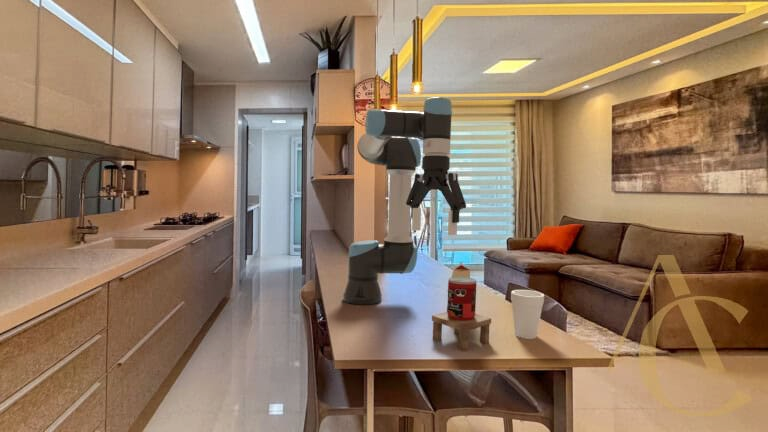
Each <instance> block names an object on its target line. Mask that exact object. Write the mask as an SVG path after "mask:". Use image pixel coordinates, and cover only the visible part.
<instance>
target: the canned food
mask: <svg viewBox="0 0 768 432" xmlns="http://www.w3.org/2000/svg"><path fill="white" fill-rule="evenodd" d="M447 282H448V283H447V303H448V309H447V308H446V312H447V314H448V317H450V318H451V319H455V320H464V321H465V320H472V319H474V317H475V314H476V307H477V306H476V302H477V279H475V278H473V277H470V278H469V277H452V276H451V277H449V278H448V281H447Z"/></svg>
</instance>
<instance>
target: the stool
mask: <svg viewBox="0 0 768 432" xmlns="http://www.w3.org/2000/svg"><path fill="white" fill-rule="evenodd" d="M431 321H432V340H434V341H436V342H439V341H442V339H443V337H442V336H443V335H442V334H443V325H444V326H446V327H449V328H453V333H454V334H456V335H458V350H460V351H462V352H465V351H468V350H469V335H470V334H469V333H470V331H471V330H475V329H478V328H479V329H480V331H479V342H480V343H483V344H487V343H488V344H489V343H490V326H491V324H492V318H491V317H489V316H484V315H480V314H478V313H475V317H474V319H472V320H465V321H464V320H455V319H451V318H450V317H448V314H447V311H445V312H441V313H436V314H433V315H431Z"/></svg>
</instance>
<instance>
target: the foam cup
mask: <svg viewBox="0 0 768 432" xmlns="http://www.w3.org/2000/svg"><path fill="white" fill-rule="evenodd" d="M510 300H511V308H512V309H511V310H512V317H513V318H512V321H513V330H514V336H515V337H517V336H518V337H517V338H520V337H521V338H520V339H524V338H525V340H534V338H535V339H537V337H538V336H537V335H538V332H539V327H540V326H539V325H540V322H541V315H542V310H543V306H544V303H545V294H544V293H542V292H540V291H536V290H530V289H513V290H512V291H511V293H510Z"/></svg>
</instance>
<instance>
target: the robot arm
mask: <svg viewBox="0 0 768 432" xmlns="http://www.w3.org/2000/svg"><path fill="white" fill-rule="evenodd" d="M452 106H453V105H452V100H451V99H449V98H447V97H441V96H435V97H428V98H427V99H425V101H424V105H423V112H420V111H402V110H390V109H389V110H388V109H380V108H378V109H369V110H367V111H366V115H365V120H364V122H365V125H364V126H365V129H364V130H365V133H364V134H363V135H361V136H360V137H359V139H358V141H357V151H358V154H359V156H360V157H361V158H362V159H364V161H366V162H367V163H369V164H372V165H376V166H385V171H386V172H387V174H388V175H389V188H388V189H389V193H388V194H389V195H388V220H387V221H388V223H387V224H388V225H387V236H386V237H384V239H383V243H380V242H379V240H376V239H372V240H371V239H368V240H359V241H356V242H352V243H351V244H350V245H349V249H348V255H347V256H348V271H347V272H348V274H347V278H348V279H347V283H346V285H345V289H344V292H343V298H342V299H343V301H344V302H345V303H348V304H353V305H361V306H362V305H375V304H379V303H381V302H382V299H383V298H382V296H383V294H382V292H381V287H380V285H379V274H383V275H384V274H400V275H402V274H410V273H412V272H413V271H414V269H415V267H416V265H417V261H418V246H417V245H416V244H415V243H414V239H413V238H412V237H411V236H410V229H411V231H413V232H414V231H415V232H416V231H421V224H422V219H421V218H422V217H421V216H422V208H421V204H422V203H423V202H424V200H425V198H426V197H427V195H428V194H429V193H430V191H433V190H436V191H437V190H438V191H440V192H441V194H442V196H443V198H444V199H445V201H446V202H447V204H448V206H449V208H450V209H449V210H448V216H447V217H448V220H447V222H448V224H447V235H448V236H457V235H458V223H460V211H461V210H463V209H466V208H467V203H466V200H465V198H464V195H463V193H462V190H461V187H460V183H459V179H458V177H459V176H458V173H457V172H448V171H449V170H450V167H451V166H450V162H451V161H450V160H451V158H450V156H449V155H450V154H451V136H452V115H453V108H452ZM419 140H421V141H422V150H421V146H420V143H419V142H420V141H419ZM421 151H422V152H421ZM421 153H422V154H423V157H422V154H421ZM420 165H421V169H422V170H423V173H415V172H416V171H417V170H416V169H417V168H418V167H420ZM413 175H414V181H413V183H412V178H413V177H412V176H413ZM411 219H412V221H411Z"/></svg>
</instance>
